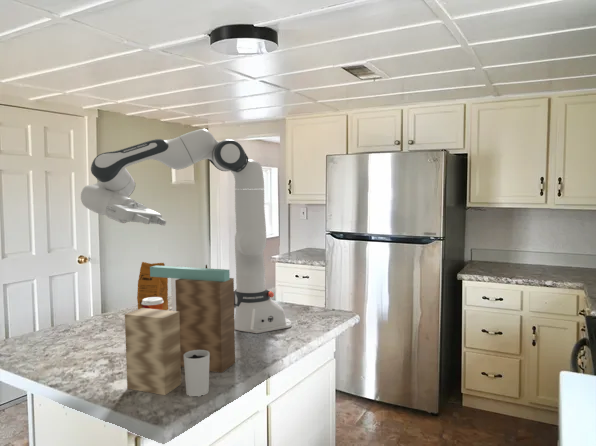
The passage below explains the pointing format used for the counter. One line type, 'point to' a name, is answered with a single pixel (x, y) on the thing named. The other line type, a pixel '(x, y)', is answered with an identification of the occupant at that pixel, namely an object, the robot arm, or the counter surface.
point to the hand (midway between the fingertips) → (157, 222)
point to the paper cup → (153, 303)
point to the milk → (174, 292)
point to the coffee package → (151, 285)
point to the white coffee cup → (197, 372)
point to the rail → (190, 273)
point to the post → (207, 320)
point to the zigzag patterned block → (153, 350)
